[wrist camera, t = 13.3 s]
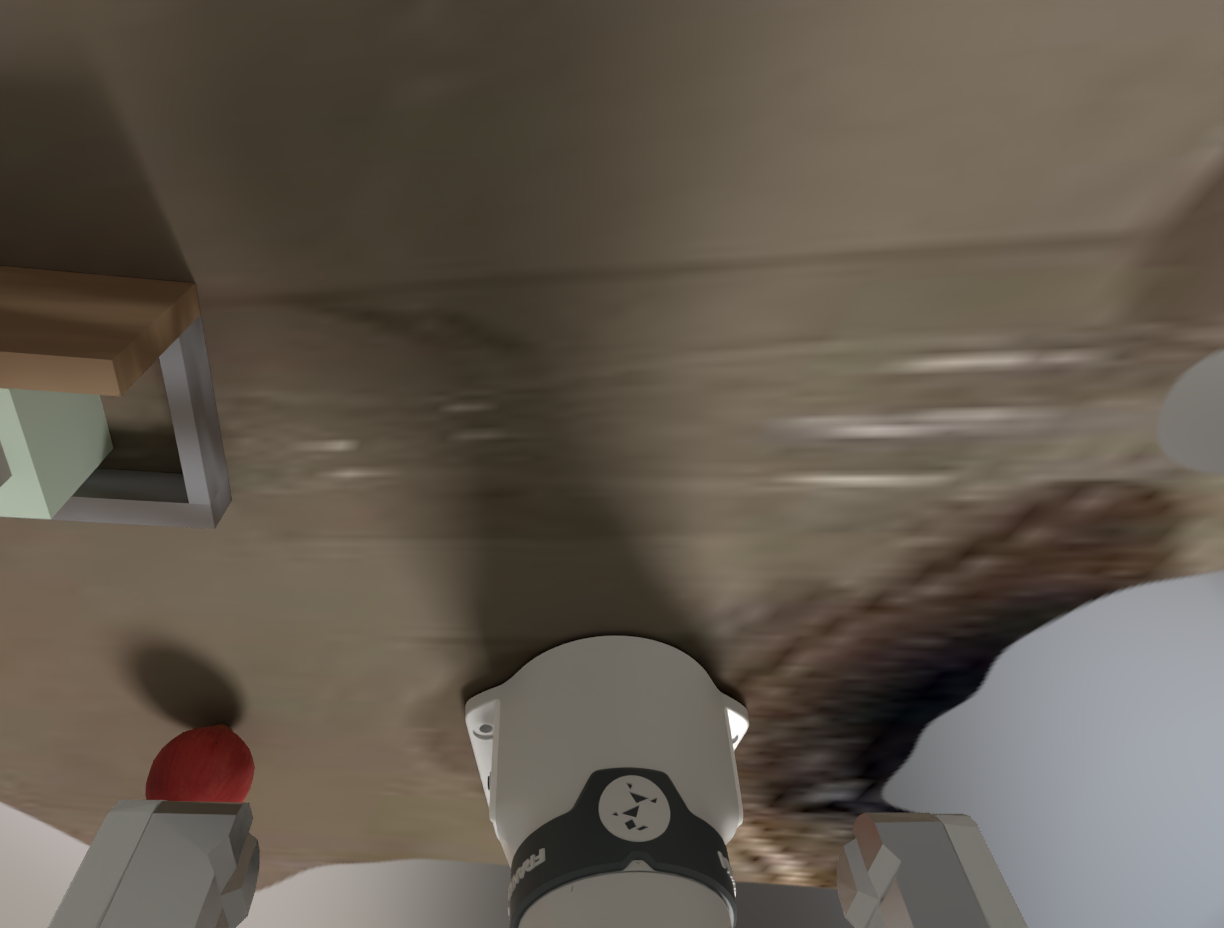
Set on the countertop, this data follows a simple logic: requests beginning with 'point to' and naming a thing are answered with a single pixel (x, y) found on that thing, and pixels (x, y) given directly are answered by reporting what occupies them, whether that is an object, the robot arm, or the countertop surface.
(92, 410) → the cabinet block
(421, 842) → the countertop surface
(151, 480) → the grey and wood frame
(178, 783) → the onion
